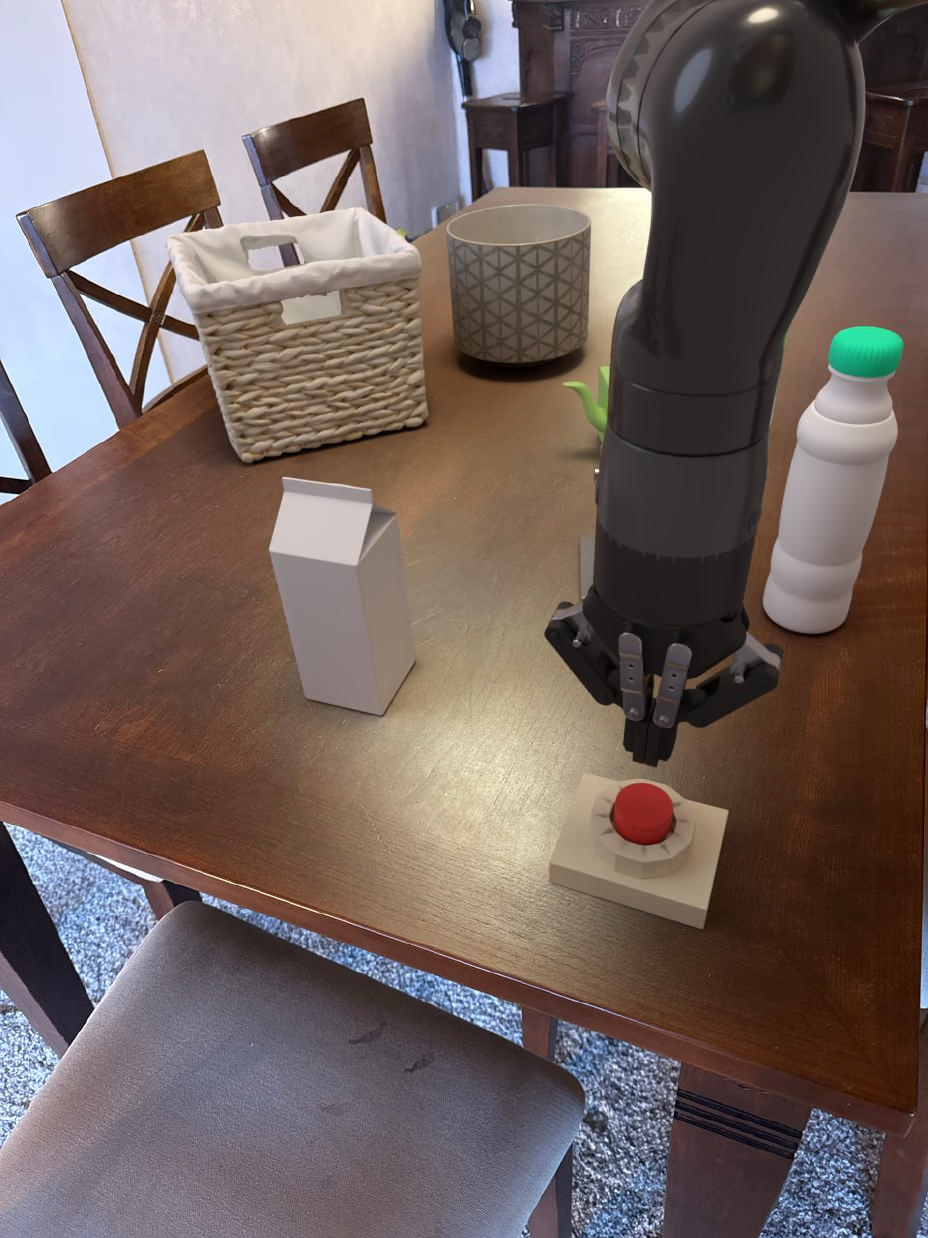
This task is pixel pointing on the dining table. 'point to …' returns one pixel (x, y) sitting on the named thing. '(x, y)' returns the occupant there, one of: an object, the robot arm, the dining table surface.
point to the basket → (307, 329)
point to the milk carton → (343, 593)
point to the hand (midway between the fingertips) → (647, 754)
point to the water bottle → (834, 484)
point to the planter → (519, 282)
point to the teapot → (592, 410)
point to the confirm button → (643, 813)
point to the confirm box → (640, 854)
